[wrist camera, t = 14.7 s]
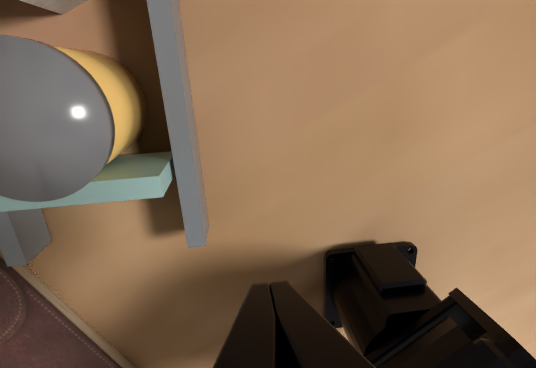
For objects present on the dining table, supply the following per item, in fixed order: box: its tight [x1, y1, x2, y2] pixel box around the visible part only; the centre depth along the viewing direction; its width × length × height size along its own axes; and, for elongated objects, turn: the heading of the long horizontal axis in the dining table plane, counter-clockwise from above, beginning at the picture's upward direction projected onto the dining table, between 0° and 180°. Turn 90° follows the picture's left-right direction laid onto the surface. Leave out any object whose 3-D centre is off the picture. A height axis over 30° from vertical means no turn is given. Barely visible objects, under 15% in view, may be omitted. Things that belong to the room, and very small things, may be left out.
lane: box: [0, 0, 209, 267], centre depth 12 cm, size 21×10×8 cm, turn 3°
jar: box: [0, 35, 146, 202], centre depth 14 cm, size 6×6×6 cm
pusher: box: [0, 151, 175, 212], centre depth 16 cm, size 1×8×4 cm, turn 93°
